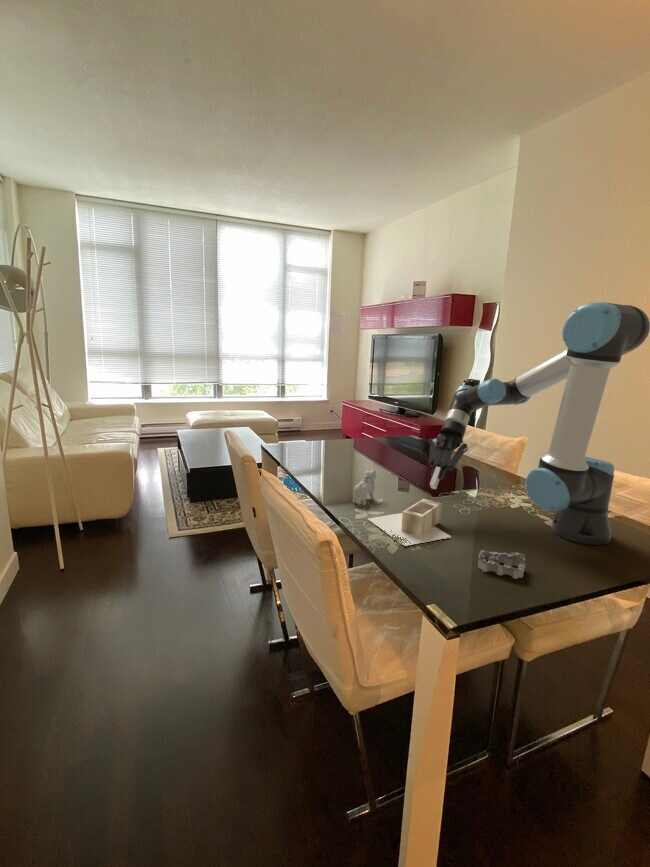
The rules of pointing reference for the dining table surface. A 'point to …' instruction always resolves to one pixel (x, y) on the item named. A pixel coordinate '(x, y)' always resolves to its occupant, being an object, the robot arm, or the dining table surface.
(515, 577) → the egg carton
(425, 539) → the mat
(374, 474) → the dog figurine
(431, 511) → the birch block
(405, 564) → the dining table surface
